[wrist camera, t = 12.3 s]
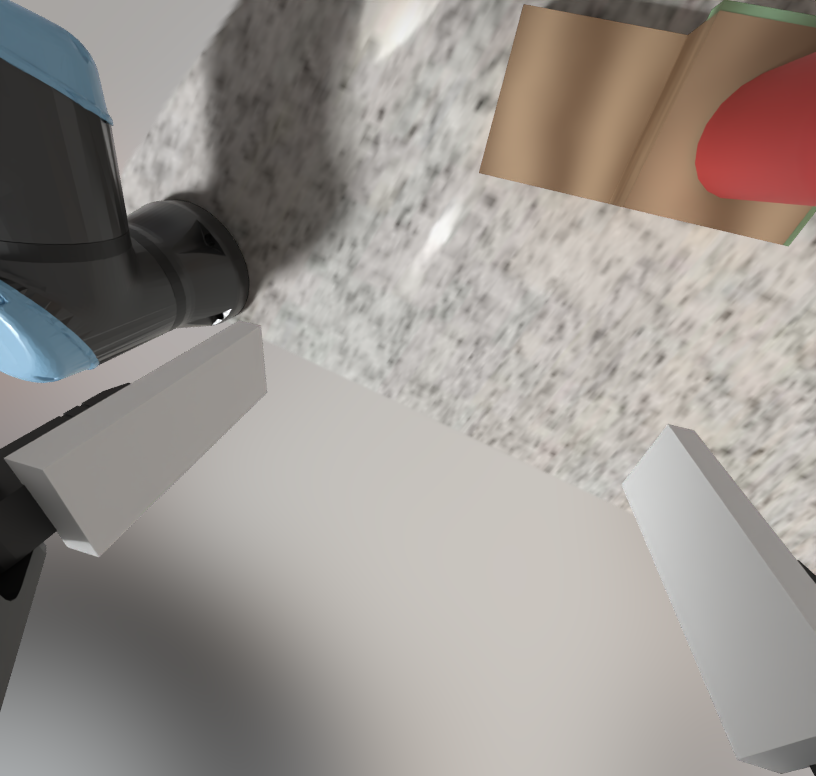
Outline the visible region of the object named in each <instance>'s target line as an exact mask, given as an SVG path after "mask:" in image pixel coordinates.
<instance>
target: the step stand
mask: <svg viewBox="0 0 816 776" xmlns="http://www.w3.org/2000/svg"><path fill="white" fill-rule="evenodd" d="M814 52H816V16H815V15H809V14H803V13H798V12H792V11H786V10H781V9H775V8H770V7H764V6H758V5H753V4H747V3H741V2H736V1H730V0H723V1H722V2H721V3H720V4H718V5H717V6H716V7H715V8H713V9H712V10H711V13H710V15H709V17H708V19H707V21H705V22H704V23H703V24H702V25H700V26H699V27H698V28H696V29H695V30H694V31H693V32H691V33H690V34H689V35H685V34H679V33H674V32H669V31H663V30H658V29H653V28H647V27H642V26H637V25H632V24H626V23H621V22H616V21H610V20H605V19H600V18H594V17H589V16H584V15H578V14H573V13H568V12H562V11H557V10H552V9H547V8H541V7H536V6H531V5H525V4H524V5H523V8H522V12H521V16H520V20H519V23H518V27H517V31H516V35H515V39H514V42H513V46H512V50H511V54H510V57H509V61H508V65H507V69H506V73H505V76H504V80H503V84H502V88H501V91H500V95H499V99H498V103H497V107H496V110H495V114H494V118H493V122H492V125H491V129H490V133H489V137H488V141H487V144H486V148H485V152H484V156H483V159H482V163H481V167H480V171H479V173H482V174H486V175H490V176H494V177H498V178H503V179H507V180H511V181H515V182H520V183H524V184H528V185H532V186H536V187H541V188H545V189H549V190H553V191H558V192H562V193H566V194H570V195H574V196H579V197H583V198H587V199H591V200H596V201H600V202H604V203H608V204H612V205H616V206H620V207H625V208H629V209H633V210H637V211H641V212H646V213H650V214H654V215H658V216H662V217H667V218H671V219H675V220H679V221H684V222H688V223H692V224H696V225H700V226H705V227H709V228H713V229H717V230H722V231H726V232H730V233H734V234H738V235H743V236H747V237H751V238H755V239H760V240H764V241H768V242H772V243H776V244H781V245H785V246H789V245H790V244H791V243H792V241H793V240H794V239H795V238H796V236H797V235H798V234H799V232H800V231H801V230H802V229H803V227H804V226H805V225H806V223H807V222H808V221H809V220H810V218H811V217H812V216H813V215H814V213H815V212H816V206H805V205H794V204H782V203H771V202H760V201H748V200H737V199H726V198H720V197H718V196H716V195H714V194H712V193H710V192H708V191H707V190H706V189H705V188H704V186H703V185H702V184H701V182H700V181H699V180H698V176H697V171H696V166H695V159H696V152H697V145H698V142H699V140H700V138H701V136H702V133H703V131H704V129H705V126H706V124H707V123H708V121H709V120H710V119H711V117H712V116H713V115H714V113H715V112H716V111H717V109H718V108H719V106H720V105H721V104H722V103H723V102H724V101H725V100H726V99H727V98H728V97H730V96H731V95H732V94H733V93H734V92H735V91H736V90H737V89H738V88H740V87H741V86H742V85H744V84H746V83H747V82H749V81H751V80H752V79H754V78H756V77H758V76H759V75H761V74H763V73H765V72H767V71H770V70H772V69H775V68H777V67H780V66H782V65H785V64H787V63H790V62H792V61H794V60H797V59H799V58H802V57H804V56H807V55H809V54H812V53H814Z"/></svg>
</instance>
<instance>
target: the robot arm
mask: <svg viewBox="0 0 816 776" xmlns="http://www.w3.org/2000/svg"><path fill="white" fill-rule="evenodd" d="M111 126H113V121H112V119H111V117H110V116H109V114H108V112H107V108H106V104H105V100H104V95H103V91H102V87H101V82H100V78H99V74H98V70H97V67H96V64H95V62H94V60H93V58H92V57H91V55H90V53H89V52H88V51H87V49H86V48H85V47H84V46H83V44H82V43H81V42H80V41H79V40H78V39H76V38H75V37H74V36H73V35H72V34H70V33H69V32H68V31H66V30H65V29H63V28H62V27H60V26H58V25H57V24H55V23H53V22H51V21H49V20H47V19H45V18H43V17H42V16H39V15H38V14H36V13H33V12H32V11H30V10H28V9H26V8H24V7H22V6H20V5H18V4H16V3H14V2H12V1H9V0H0V371H1V372H3V373H5V374H8V375H10V376H13V377H16V378H19V379H22V380H26V381H31V382H40V383H46V382H54V381H58V380H61V379H63V378H66V377H68V376H71V375H73V374H76V373H79V372H81V371H84V370H91V369H94V368H96V367H97V366H98V365H100V364H102V363H104V362H106V361H108V360H110V359H112V358H114V357H117V356H119V355H120V354H123V353H125V352H127V351H129V350H131V349H133V348H135V347H137V346H139V345H142V344H144V343H146V342H148V341H150V340H152V339H154V338H156V337H158V336H160V335H163V334H164V333H167V332H168V331H171V330H173V329H176V328H187V327H201V326H212V325H217V324H220V323H222V322H224V321H226V320H228V319H230V318H232V317H234V316H235V315H237V314H238V313H239V312H240V311H241V310H242V308H243V307H244V305H245V303H246V300H247V297H248V290H249V279H248V272H247V268H246V264H245V261H244V258H243V256H242V254H241V251H240V249H239V247H238V246H237V244H236V242H235V241H234V239H233V237H232V236H231V235H230V233H229V232H228V231H227V230H226V228H225V227H224V226H223V225H222V224H221V223H220V222H219V221H218V220H217V219H216V218H215V217H214V216H212V215H211V214H210V213H208V212H207V211H205V210H204V209H202V208H201V207H199V206H197V205H194V204H192V203H189V202H186V201H180V200H168V201H156V202H152V203H149V204H146V205H144V206H143V207H141V208H139V209H138V210H136V211H134V212H133V213H131V214H129V215H128V216H127V214H126V209H125V203H124V198H123V192H122V186H121V180H120V175H119V169H118V163H117V157H116V152H115V146H114V140H113V134H112V128H111ZM266 393H267V386H266V375H265V364H264V353H263V342H262V331H261V325H257V324H253V323H249V322H245V321H241V320H239V321H237V322H236V323H234V324H232V325H231V326H229V327H227V328H226V329H224V330H222V331H220V332H219V333H217V334H215V335H214V336H212V337H210V338H209V339H207V340H205V341H203V342H202V343H200V344H198V345H196V346H195V347H193V348H191V349H190V350H188V351H186V352H184V353H183V354H181V355H179V356H178V357H176V358H174V359H172V360H171V361H169V362H167V363H166V364H164V365H162V366H160V367H159V368H157V369H155V370H154V371H152V372H150V373H148V374H147V375H145V376H144V377H142V378H140V379H138V380H137V381H135V382H133V383H126V384H123V385H120V386H117V387H114V388H111V389H108V390H105V391H103V392H101V393H99V394H97V395H96V396H94V397H92V398H90V399H88V400H87V401H85V402H83V403H82V405H81V406H76V407H74V408H72V409H71V410H69V411H67V412H65V413H64V415H63V416H62V417H60V416H58V417H56V418H55V419H53V420H51V421H49V422H47V423H46V424H44V425H42V426H40V427H39V428H37V429H35V430H33V431H32V432H30V433H28V434H26V435H24V436H23V437H21V438H19V439H17V440H15V441H14V442H12V443H10V444H8V445H7V446H5V447H3V448H1V449H0V710H1V707H2V704H3V700H4V697H5V693H6V690H7V686H8V683H9V680H10V676H11V673H12V669H13V666H14V662H15V659H16V655H17V652H18V649H19V646H20V642H21V639H22V635H23V632H24V628H25V624H26V622H27V618H28V615H29V611H30V608H31V605H32V601H33V598H34V594H35V591H36V587H37V584H38V581H39V577H40V574H41V570H42V567H43V563H44V560H45V557H46V545H45V544H44V543H43V542H44V541H45V540H46V539H47V538H49V537H50V536H51V535H52V534H53V533H55V532H57V533H58V534H59V536H60V537H61V538H62V540H63V541H64V543H65V544H66V545H67V547H69V548H72V549H75V550H78V551H82V552H85V553H88V554H91V555H94V556H97V557H100V556H101V555H102V554H103V553H104V552H105V551H106V550H107V549H108V548H109V547H110V546H111V545H112V544H113V543H114V542H115V541H116V540H117V539H118V538H119V537H120V536H121V535H122V534H123V533H124V532H125V531H126V530H127V529H128V528H129V527H130V526H131V525H132V524H133V523H134V522H135V521H136V520H137V519H138V518H139V517H140V516H142V515H143V514H144V513H145V512H146V511H147V510H148V509H149V508H150V507H151V506H152V505H153V504H154V503H155V502H156V501H157V500H158V499H159V498H160V497H161V496H162V495H163V494H164V493H165V492H166V491H167V490H168V489H169V488H170V487H171V486H172V485H173V484H174V483H175V482H176V481H177V480H178V479H179V478H180V477H181V476H182V475H183V474H184V473H186V471H188V470H189V469H190V468H191V467H192V466H193V465H194V464H195V463H196V462H197V461H198V460H199V459H200V458H201V457H202V456H203V455H204V454H205V453H206V452H207V451H208V450H209V449H210V448H211V447H212V446H213V445H214V444H215V443H216V442H217V441H218V440H219V439H220V438H221V437H222V436H223V435H224V434H225V433H226V432H227V431H228V430H229V429H230V428H231V427H232V426H233V425H234V424H236V422H238V421H239V420H240V419H241V418H242V417H243V416H244V415H245V414H246V413H247V412H248V411H249V410H250V409H251V408H252V407H253V406H254V405H255V404H256V403H257V402H258V401H259V400H260V399H261V398H262V397H263V396H264V395H265V394H266ZM622 487H623V489H624V492H625V494H626V497H627V499H628V501H629V504H630V506H631V509H632V511H633V513H634V516H635V517H636V520H637V523H638V525H639V527H640V530H641V532H642V535H643V537H644V539H645V542H646V544H647V547H648V549H649V551H650V553H651V556H652V559H653V561H654V563H655V566H656V568H657V570H658V573H659V575H660V577H661V580H662V582H663V585H664V587H665V590H666V592H667V594H668V597H669V599H670V601H671V604H672V606H673V608H674V611H675V613H676V616H677V618H678V620H679V623H680V625H681V628H682V630H683V632H684V635H685V637H686V640H687V642H688V644H689V647H690V649H691V651H692V654H693V656H694V658H695V661H696V663H697V665H698V668H699V670H700V673H701V675H702V678H703V680H704V682H705V685H706V687H707V690H708V692H709V694H710V697H711V699H712V702H713V704H714V706H715V709H716V711H717V713H718V716H719V718H720V721H721V723H722V725H723V728H724V730H725V733H726V735H727V737H728V739H729V742H730V744H731V747H732V749H733V752H734V754H735V756H736V759H737V760H739V761H743V762H746V763H749V764H752V765H755V766H758V767H762V768H764V769H768V770H771V771H774V772H777V773H780V774H783V773H787V772H791V771H795V770H799V769H803V768H807V767H810V768H811V770H812V772H813V773H814V775H815V776H816V575H814V574H813V573H812V572H811V571H810V570H809V569H808V568H807V567H806V566H804V565H803V564H802V563H801V562H800V561H799V560H796V558H795V557H794V556H793V555H792V553H791V552H790V551H789V549H788V548H787V547H786V546H785V544H784V543H783V542H782V541H781V539H780V538H779V537H778V536H777V534H776V533H775V532H774V531H773V529H772V528H771V527H770V525H769V524H768V523H767V522H766V520H765V519H764V518H763V517H762V515H761V514H760V513H759V512H758V510H757V509H756V508H755V507H754V505H753V504H752V503H751V501H750V500H749V499H748V498H747V496H746V495H745V494H744V493H743V491H742V490H741V489H740V488H739V486H738V485H737V484H736V483H735V481H734V480H733V479H732V477H731V476H730V475H729V474H728V472H727V471H726V470H725V469H724V467H723V466H722V465H721V464H720V462H719V461H718V460H717V458H716V457H715V456H714V455H713V453H712V452H711V451H710V450H709V448H708V447H707V446H706V445H705V443H704V442H703V441H702V440H701V438H700V437H699V436H698V434H697V433H696V432H695V431H694V430H690V429H686V428H682V427H678V426H674V425H669V424H668V425H667V426H666V427H665V429H664V430H663V431H662V432H661V434H660V435H659V436H658V438H657V439H656V440H655V442H654V443H653V444H652V446H651V447H650V448H649V449H648V451H647V452H646V453H645V455H644V456H643V457H642V459H641V460H640V461H639V462H638V464H637V465H636V466H635V468H634V469H633V470H632V472H631V473H630V474H629V476H628V477H627V478H626V479H625V481H624V482H623V483H622Z"/></svg>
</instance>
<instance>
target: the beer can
mask: <svg viewBox="0 0 816 776" xmlns="http://www.w3.org/2000/svg"><path fill="white" fill-rule="evenodd" d="M695 166H696V171H697V176H698V180H699V181H700V182H701V184H702V185H703V186H704V188H705V189H706V190H707V191H708V192H710V193H712V194H714V195H716V196H718V197H720V198H726V199H737V200H748V201H760V202H771V203H782V204H794V205H805V206H816V52H814V53H812V54H809V55H807V56H804V57H802V58H799V59H797V60H794V61H792V62H790V63H787V64H785V65H782V66H780V67H777V68H775V69H772V70H770V71H767V72H765V73H763V74H761V75H759V76H758V77H756V78H754V79H752V80H751V81H749V82H747V83H746V84H744V85H742V86H741V87H740V88H738V89H737V90H736V91H735V92H734V93H733V94H732V95H731V96H730V97H728V98H727V99H726V100H725V101H724V102H723V103H722V104H721V105H720V106H719V108H718V109H717V111H716V112H715V113H714V115H713V116H712V117H711V119H710V120H709V121H708V123H707V124H706V126H705V129H704V131H703V133H702V136H701V138H700V140H699V142H698V145H697V152H696V159H695Z"/></svg>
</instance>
